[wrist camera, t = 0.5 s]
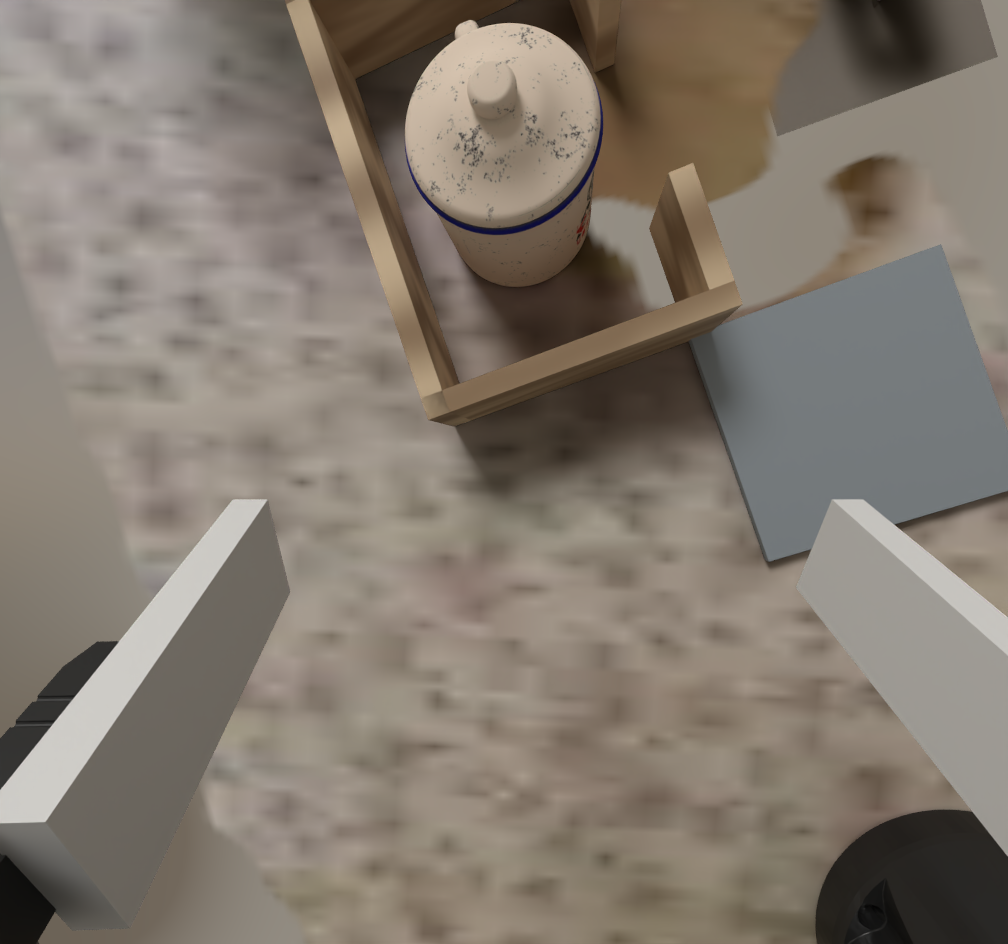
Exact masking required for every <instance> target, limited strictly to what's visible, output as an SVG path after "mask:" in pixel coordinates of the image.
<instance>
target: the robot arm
mask: <svg viewBox="0 0 1008 944" xmlns="http://www.w3.org/2000/svg"><path fill="white" fill-rule="evenodd" d="M796 588H797V589H798V591H799V592H800V593H801V594H802V596H803V597H804V598H805V600H806V601H807V602H808V603H809V605H810V606H811V607H812V608H813V610H814V611H815V612H816V614H817V615H818V616H819V617H820V619H821V620H822V621H823V622H824V624H825V625H826V626H827V628H828V629H829V630H830V631H831V633H832V634H833V635H834V636H835V638H836V639H837V640H838V641H839V643H840V644H841V645H842V647H843V648H844V649H845V650H846V652H847V653H848V654H849V655H850V657H851V658H852V659H853V661H854V662H855V663H856V664H857V666H858V667H859V668H860V669H861V671H862V672H863V673H864V675H865V676H866V677H867V678H868V680H869V681H870V682H871V683H872V685H873V686H874V687H875V688H876V690H877V691H878V692H879V694H880V695H881V696H882V697H883V699H884V700H885V701H886V702H887V704H888V705H889V706H890V708H891V709H892V710H893V711H894V713H895V714H896V715H897V716H898V718H899V719H900V720H901V722H902V723H903V724H904V725H905V727H906V728H907V729H908V730H909V732H910V733H911V734H912V736H913V737H914V738H915V739H916V741H917V742H918V743H919V744H920V746H921V747H922V748H923V749H924V751H925V752H926V753H927V755H928V756H929V757H930V758H931V760H932V761H933V762H934V763H935V765H936V766H937V767H938V769H939V770H940V771H941V772H942V774H943V775H944V776H945V777H946V779H947V780H948V781H949V783H950V784H951V785H952V786H953V788H954V789H955V790H956V791H957V793H958V794H959V795H960V797H961V798H962V799H963V800H964V802H965V803H966V804H967V805H968V807H969V808H970V809H971V810H972V812H969V811H960V810H931V811H922V812H917V813H912V814H908V815H904V816H901V817H898V818H895V819H892V820H889V821H887V822H885V823H882V824H880V825H879V826H877V827H875V828H873V829H871V830H870V831H868V832H866V833H865V834H864V835H862V836H861V837H859V838H858V839H857V840H856V841H855V842H853V843H852V844H851V845H850V846H849V847H848V848H847V849H846V850H845V851H844V852H843V853H842V855H841V856H840V857H839V858H838V859H837V861H836V862H835V864H834V865H833V867H832V868H831V870H830V872H829V873H828V875H827V877H826V879H825V882H824V884H823V887H822V889H821V893H820V896H819V900H818V905H817V912H816V937H817V944H1008V617H1007V616H1005V615H1004V614H1003V613H1002V612H1001V611H999V610H998V609H997V608H996V607H994V606H993V605H992V604H991V603H990V602H988V601H987V600H986V599H985V598H983V597H982V596H981V595H980V594H978V593H977V592H976V591H975V590H974V589H972V588H971V587H970V586H969V585H967V584H966V583H965V582H964V581H963V580H961V579H960V578H959V577H958V576H956V575H955V574H954V573H953V572H952V571H950V570H949V569H948V568H947V567H945V566H944V565H943V564H942V563H940V562H939V561H938V560H937V559H936V558H934V557H933V556H932V555H931V554H929V553H928V552H927V551H926V550H925V549H923V548H922V547H921V546H920V545H918V544H917V543H916V542H915V541H913V540H912V539H911V538H910V537H909V536H907V535H906V534H905V533H904V532H902V531H901V530H900V529H899V528H898V527H896V526H895V525H894V524H893V523H891V522H890V521H889V520H888V519H887V518H885V517H884V516H883V515H882V514H880V513H879V512H878V511H877V510H875V509H874V508H873V507H872V506H871V505H869V504H868V503H867V502H866V501H864V500H863V499H832V500H831V503H830V505H829V508H828V510H827V513H826V515H825V518H824V520H823V523H822V525H821V528H820V530H819V532H818V535H817V537H816V540H815V542H814V545H813V547H812V550H811V552H810V555H809V557H808V560H807V562H806V564H805V567H804V569H803V572H802V574H801V577H800V579H799V582H798V584H797V587H796ZM289 593H290V589H289V585H288V581H287V576H286V572H285V568H284V564H283V560H282V556H281V552H280V548H279V544H278V540H277V535H276V531H275V527H274V523H273V519H272V515H271V511H270V507H269V503H268V500H232V501H231V503H230V504H229V505H228V506H227V508H226V509H225V510H224V511H223V513H222V514H221V515H220V516H219V518H218V519H217V520H216V521H215V523H214V524H213V525H212V526H211V528H210V529H209V530H208V531H207V533H206V534H205V535H204V536H203V538H202V539H201V540H200V541H199V543H198V544H197V545H196V546H195V548H194V549H193V550H192V551H191V553H190V554H189V555H188V556H187V558H186V559H185V560H184V561H183V563H182V564H181V565H180V566H179V568H178V569H177V570H176V571H175V573H174V574H173V575H172V576H171V578H170V579H169V580H168V581H167V583H166V584H165V585H164V586H163V588H162V589H161V590H160V591H159V593H158V594H157V595H156V596H155V598H154V599H153V600H152V601H151V603H150V604H149V605H148V606H147V608H146V609H145V610H144V611H143V613H142V614H141V615H140V616H139V618H138V619H137V620H136V621H135V623H134V624H133V625H132V626H131V627H130V629H129V630H128V631H127V633H126V634H125V635H124V636H123V638H122V639H121V640H120V641H118V642H117V641H113V642H96V643H95V644H94V645H92V646H91V647H89V648H88V649H87V650H85V651H84V652H83V653H81V654H80V655H78V656H77V657H76V658H74V659H73V660H72V661H70V662H69V663H68V664H66V665H65V666H64V667H63V668H62V669H61V670H60V671H59V672H58V673H57V674H56V676H55V677H54V678H53V679H52V680H51V681H50V682H49V683H48V685H47V686H46V687H45V688H44V689H43V690H42V691H41V693H40V694H39V695H38V699H37V701H36V702H32V703H31V704H30V705H29V706H28V708H27V709H26V710H25V711H24V712H23V713H22V714H21V715H20V717H19V718H18V719H17V720H16V725H15V726H14V727H13V728H9V729H8V730H7V731H6V733H5V734H4V735H3V736H2V737H1V738H0V944H39V943H38V940H39V938H40V936H41V934H42V933H43V931H44V929H45V928H46V926H47V924H48V923H49V921H50V919H51V917H52V916H53V914H54V912H56V913H57V914H58V916H59V917H60V918H61V919H62V920H63V921H64V922H65V923H66V924H67V925H68V926H69V927H70V929H71V930H99V929H124V928H125V929H126V928H130V927H131V925H132V923H133V921H134V919H135V917H136V915H137V913H138V911H139V909H140V906H141V904H142V902H143V900H144V898H145V896H146V894H147V892H148V889H149V888H150V885H151V883H152V881H153V879H154V877H155V875H156V873H157V871H158V869H159V866H160V864H161V862H162V860H163V858H164V856H165V854H166V852H167V850H168V848H169V845H170V843H171V841H172V839H173V837H174V835H175V833H176V831H177V829H178V827H179V824H180V822H181V820H182V818H183V816H184V814H185V812H186V810H187V808H188V806H189V803H190V801H191V799H192V797H193V795H194V793H195V791H196V789H197V787H198V785H199V782H200V780H201V778H202V776H203V774H204V772H205V770H206V768H207V766H208V764H209V761H210V759H211V757H212V755H213V753H214V751H215V749H216V747H217V745H218V743H219V740H220V738H221V736H222V734H223V732H224V730H225V728H226V726H227V724H228V722H229V719H230V717H231V715H232V713H233V711H234V709H235V707H236V705H237V703H238V701H239V698H240V696H241V694H242V692H243V690H244V688H245V686H246V684H247V682H248V680H249V677H250V675H251V673H252V671H253V669H254V667H255V665H256V663H257V661H258V658H259V656H260V654H261V652H262V650H263V648H264V646H265V644H266V642H267V640H268V637H269V635H270V633H271V631H272V629H273V627H274V625H275V623H276V621H277V619H278V616H279V614H280V612H281V610H282V608H283V606H284V604H285V602H286V600H287V598H288V595H289Z"/></svg>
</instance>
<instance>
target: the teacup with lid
mask: <svg viewBox="0 0 1008 944" xmlns="http://www.w3.org/2000/svg"><path fill="white" fill-rule="evenodd" d="M455 39H456V40H455V41H453V42H452V43H450V44H449V45H448V46H446V47H445V48H444V49H443V50H442V51H441V52H440V53H439V54H438V55H437V56H436V57H435V58H434V59H433V60H432V61H431V63H430V64H429V65H428V67H427V68H426V69H425V71H424V72H423V74H422V76H421V77H420V79H419V81H418V83H417V85H416V87H415V89H414V92H413V94H412V97H411V100H410V103H409V107H408V111H407V116H406V123H405V151H406V158H407V163H408V167H409V170H410V173H411V176H412V178H413V181H414V183H415V185H416V187H417V189H418V190H419V192H420V194H421V195H422V197H423V198H424V199H425V201H426V202H427V203H428V204H429V206H430V207H431V208H432V209H433V210H434V211H435V212H436V213H437V214H438V216H439V218H440V220H441V222H442V223H443V225H444V227H445V229H446V231H447V232H448V234H449V236H450V238H451V240H452V241H453V243H454V245H455V247H456V249H457V250H458V252H459V254H460V256H461V257H462V259H463V260H464V261H465V263H466V264H467V265H468V266H469V267H470V268H471V269H472V270H473V271H474V272H475V273H477V274H478V275H479V276H481V277H482V278H484V279H486V280H488V281H490V282H493V283H495V284H499V285H503V286H509V287H523V286H530V285H534V284H538V283H541V282H543V281H545V280H548V279H550V278H551V277H553V276H555V275H556V274H558V273H559V272H560V271H562V270H563V269H564V268H565V267H566V266H567V265H568V264H569V263H570V262H571V261H572V260H573V259H574V257H575V256H576V254H577V253H578V252H579V250H580V248H581V246H582V244H583V242H584V240H585V237H586V234H587V231H588V227H589V223H590V215H591V202H592V190H593V178H594V166H595V164H596V161H597V158H598V155H599V151H600V147H601V142H602V135H603V112H602V106H601V100H600V97H599V93H598V90H597V87H596V85H595V82H594V80H593V78H592V76H591V74H590V72H589V70H588V68H587V67H586V65H585V64H584V62H583V60H582V59H581V58H580V57H579V56H578V54H577V53H576V52H575V51H574V50H573V49H572V48H571V47H570V46H569V45H568V44H566V43H565V42H564V41H563V40H561V39H560V38H558V37H557V36H555V35H553V34H552V33H550V32H547V31H545V30H543V29H540V28H538V27H534V26H530V25H526V24H518V23H502V24H494V25H489V26H485V27H482V28H479V26H478V25H477V23H476V22H474V21H473V20H468V21H466V22H463V23H461V24H459V25H458V26H457V27H456V30H455Z"/></svg>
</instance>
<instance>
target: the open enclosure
mask: <svg viewBox="0 0 1008 944" xmlns="http://www.w3.org/2000/svg"><path fill="white" fill-rule="evenodd" d="M517 1H519V0H285V2H286V5H287V8H288V11H289V14H290V17H291V20H292V23H293V26H294V29H295V32H296V35H297V38H298V40H299V43H300V46H301V49H302V52H303V55H304V58H305V61H306V64H307V67H308V70H309V73H310V76H311V78H312V81H313V84H314V87H315V90H316V93H317V96H318V99H319V102H320V105H321V108H322V111H323V114H324V116H325V119H326V122H327V125H328V128H329V131H330V134H331V137H332V140H333V143H334V146H335V149H336V152H337V154H338V157H339V160H340V163H341V166H342V169H343V172H344V175H345V178H346V181H347V184H348V187H349V190H350V193H351V195H352V198H353V201H354V204H355V207H356V210H357V213H358V216H359V219H360V222H361V225H362V228H363V231H364V233H365V236H366V239H367V242H368V245H369V248H370V251H371V254H372V257H373V260H374V263H375V266H376V269H377V271H378V274H379V277H380V280H381V283H382V286H383V289H384V292H385V295H386V298H387V301H388V304H389V307H390V309H391V312H392V315H393V318H394V321H395V324H396V327H397V330H398V333H399V336H400V339H401V342H402V345H403V347H404V350H405V353H406V356H407V359H408V362H409V365H410V368H411V371H412V374H413V377H414V380H415V383H416V385H417V388H418V391H419V394H420V397H421V400H422V403H423V406H424V409H425V412H426V415H427V418H428V420H430V421H434V422H439V423H443V424H447V425H451V426H457V425H460V424H463V423H466V422H468V421H471V420H474V419H477V418H479V417H482V416H485V415H488V414H490V413H493V412H496V411H499V410H501V409H504V408H507V407H510V406H512V405H515V404H518V403H521V402H523V401H526V400H529V399H532V398H534V397H537V396H540V395H543V394H545V393H548V392H551V391H554V390H556V389H559V388H562V387H565V386H567V385H570V384H573V383H576V382H578V381H581V380H584V379H587V378H589V377H592V376H595V375H598V374H600V373H603V372H606V371H609V370H611V369H614V368H617V367H620V366H622V365H625V364H628V363H631V362H633V361H636V360H639V359H642V358H644V357H647V356H650V355H653V354H655V353H658V352H661V351H664V350H666V349H669V348H672V347H675V346H677V345H680V344H683V343H686V342H688V341H690V340H691V339H693V338H696V337H698V336H701V335H704V334H707V333H709V332H712V331H713V330H714V329H715V328H716V327H717V326H718V325H720V324H721V323H722V322H723V321H724V320H725V319H726V318H728V317H729V316H730V315H731V314H732V313H733V312H734V311H736V310H737V309H738V308H739V307H740V306H741V305H742V301H741V298H740V295H739V292H738V290H737V287H736V284H735V281H734V278H733V275H732V273H731V270H730V267H729V264H728V261H727V258H726V256H725V253H724V250H723V247H722V244H721V241H720V238H719V236H718V233H717V230H716V227H715V224H714V221H713V218H712V215H711V213H710V210H709V207H708V204H707V201H706V198H705V195H704V193H703V190H702V187H701V184H700V181H699V178H698V176H697V173H696V170H695V167H694V164H693V163H692V164H689V165H687V166H684V167H682V168H679V169H677V170H675V171H672V172H670V173H668V176H667V179H666V182H665V185H664V187H663V190H662V193H661V196H660V199H659V202H658V205H657V208H656V211H655V213H654V216H653V220H652V222H651V225H650V228H649V229H650V232H651V235H652V238H653V240H654V243H655V246H656V249H657V252H658V254H659V257H660V260H661V263H662V266H663V269H664V272H665V275H666V278H667V281H668V283H669V286H670V289H671V292H672V295H673V298H674V301H675V303H673V304H671V305H668V306H666V307H663V308H660V309H657V310H655V311H652V312H649V313H647V314H644V315H641V316H639V317H636V318H633V319H631V320H628V321H625V322H623V323H620V324H617V325H615V326H612V327H609V328H607V329H604V330H601V331H599V332H596V333H593V334H591V335H588V336H585V337H583V338H580V339H577V340H575V341H572V342H569V343H567V344H564V345H561V346H559V347H556V348H553V349H551V350H548V351H545V352H543V353H540V354H537V355H535V356H532V357H530V358H527V359H524V360H522V361H519V362H516V363H514V364H511V365H508V366H506V367H503V368H500V369H498V370H495V371H492V372H490V373H487V374H484V375H482V376H479V377H476V378H474V379H471V380H468V381H466V382H463V383H460V384H459V381H458V378H457V375H456V372H455V369H454V366H453V363H452V360H451V358H450V355H449V352H448V349H447V346H446V343H445V340H444V337H443V334H442V331H441V328H440V325H439V323H438V320H437V317H436V314H435V311H434V308H433V305H432V302H431V299H430V296H429V293H428V290H427V288H426V285H425V282H424V279H423V276H422V273H421V270H420V267H419V264H418V261H417V258H416V256H415V253H414V250H413V247H412V244H411V241H410V238H409V235H408V232H407V229H406V226H405V223H404V221H403V218H402V215H401V212H400V209H399V206H398V203H397V200H396V197H395V194H394V191H393V188H392V186H391V183H390V180H389V177H388V174H387V171H386V168H385V165H384V162H383V159H382V156H381V154H380V151H379V148H378V145H377V142H376V139H375V136H374V133H373V130H372V127H371V124H370V121H369V119H368V116H367V113H366V110H365V107H364V104H363V101H362V98H361V95H360V92H359V89H358V86H357V84H356V81H355V79H356V78H358V77H360V76H362V75H365V74H367V73H369V72H371V71H373V70H375V69H377V68H379V67H381V66H383V65H385V64H388V63H390V62H392V61H394V60H396V59H398V58H400V57H402V56H404V55H406V54H408V53H411V52H413V51H415V50H417V49H419V48H421V47H423V46H425V45H427V44H429V43H431V42H434V41H436V40H438V39H440V38H442V37H444V36H446V35H448V34H450V33H452V32H454V31H455V30H456V27H457V26H458V25H459V24H461V23H463V22H466V21H468V20H473V21H474V22H475V21H477V20H480V19H482V18H484V17H486V16H488V15H490V14H492V13H494V12H496V11H498V10H500V9H503V8H505V7H507V6H509V5H511V4H513V3H515V2H517ZM570 3H571V6H572V9H573V11H574V14H575V17H576V20H577V23H578V26H579V29H580V31H581V34H582V37H583V40H584V43H585V46H586V49H587V51H588V54H589V57H590V60H591V63H592V66H593V69H594V72H598V71H600V70H602V69H604V68H607V67H609V66H611V65H613V64H614V61H615V52H616V43H617V34H618V25H619V16H620V7H621V0H570Z"/></svg>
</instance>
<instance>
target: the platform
mask: <svg viewBox="0 0 1008 944" xmlns="http://www.w3.org/2000/svg"><path fill="white" fill-rule="evenodd" d="M819 4H820V5H819V20H818V23H817V25H816V26H815V27H814V28H813V30H812V32H811V33H810V35H809V36H808V37H807V38H806V39H805V40H804V41H803V42H802V43H801V45H800V46H799V47H798V48H797V49H796V50H795V51H794V53H793V54H792V55H791V57H790V58H788V60H787V61H786V63H785V66H784V68H783V70H782V71H781V72H780V74H779V77H778V85H777V88H776V90H775V93H774V98H773V101H774V111H773V116H772V120H773V123H774V127H775V130H776V133H777V136H780V135H783V134H785V133H788V132H791V131H794V130H796V129H799V128H802V127H805V126H808V125H811V124H813V123H816V122H819V121H821V120H824V119H827V118H830V117H833V116H835V115H838V114H841V113H844V112H847V111H849V110H852V109H855V108H858V107H860V106H863V105H866V104H869V103H872V102H874V101H877V100H880V99H882V98H885V97H888V96H891V95H894V94H896V93H899V92H902V91H905V90H907V89H910V88H913V87H915V86H919V85H921V84H924V83H927V82H929V81H932V80H935V79H938V78H941V77H944V76H946V75H949V74H952V73H955V72H957V71H960V70H963V69H966V68H969V67H971V66H974V65H977V64H980V63H982V62H985V61H988V60H991V59H993V58H996V57H998V55H997V52H996V49H995V45H994V42H993V39H992V36H991V32H990V29H989V25H988V22H987V19H986V16H985V12H984V9H983V5H982V2H981V0H819Z"/></svg>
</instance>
